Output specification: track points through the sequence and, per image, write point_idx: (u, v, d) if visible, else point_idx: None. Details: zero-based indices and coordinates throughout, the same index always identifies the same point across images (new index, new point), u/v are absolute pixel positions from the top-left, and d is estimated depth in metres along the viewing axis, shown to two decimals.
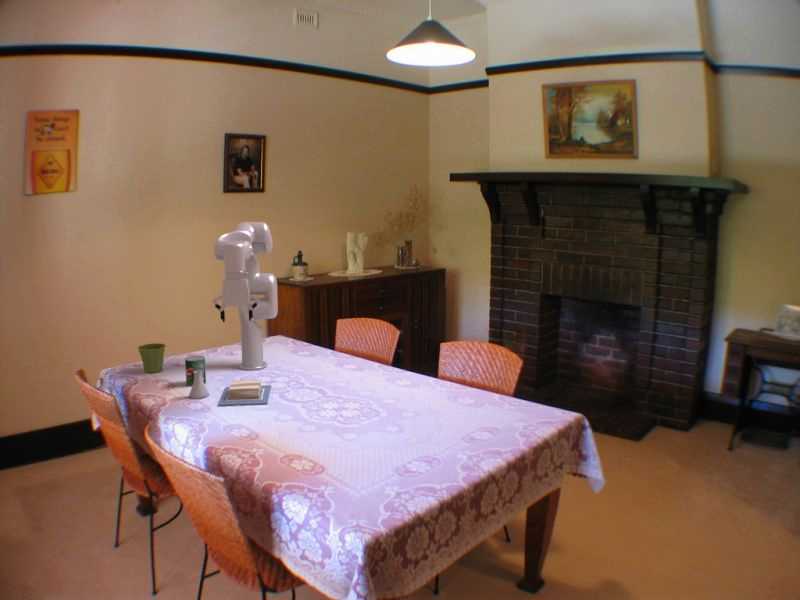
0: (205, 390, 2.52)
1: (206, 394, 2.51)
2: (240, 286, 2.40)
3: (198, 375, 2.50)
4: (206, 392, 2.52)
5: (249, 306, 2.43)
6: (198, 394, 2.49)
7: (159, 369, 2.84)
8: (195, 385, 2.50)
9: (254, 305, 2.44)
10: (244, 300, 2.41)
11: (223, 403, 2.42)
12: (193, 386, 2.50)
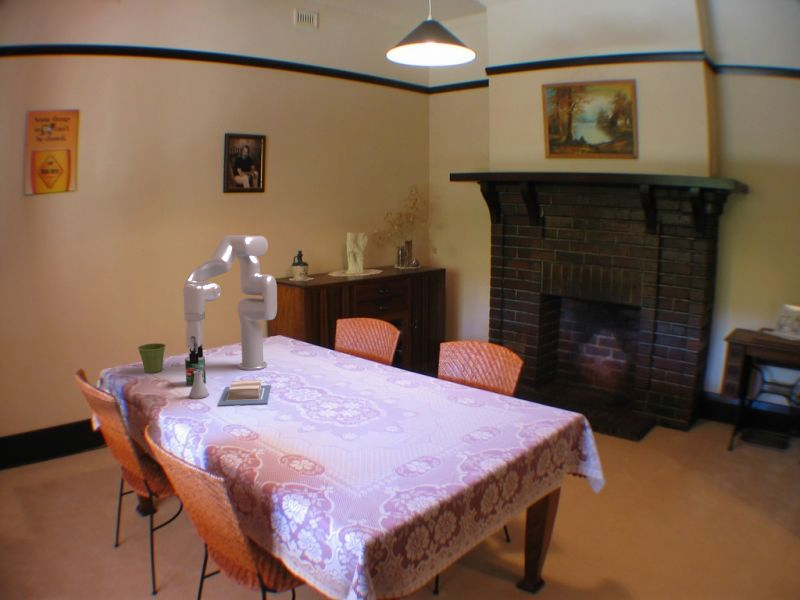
0: (205, 390, 2.52)
1: (206, 394, 2.51)
2: (202, 325, 2.49)
3: (198, 375, 2.50)
4: (206, 392, 2.52)
5: (201, 343, 2.53)
6: (198, 394, 2.49)
7: (159, 369, 2.84)
8: (195, 385, 2.50)
9: None
10: (202, 338, 2.51)
11: (223, 403, 2.42)
12: (193, 386, 2.50)
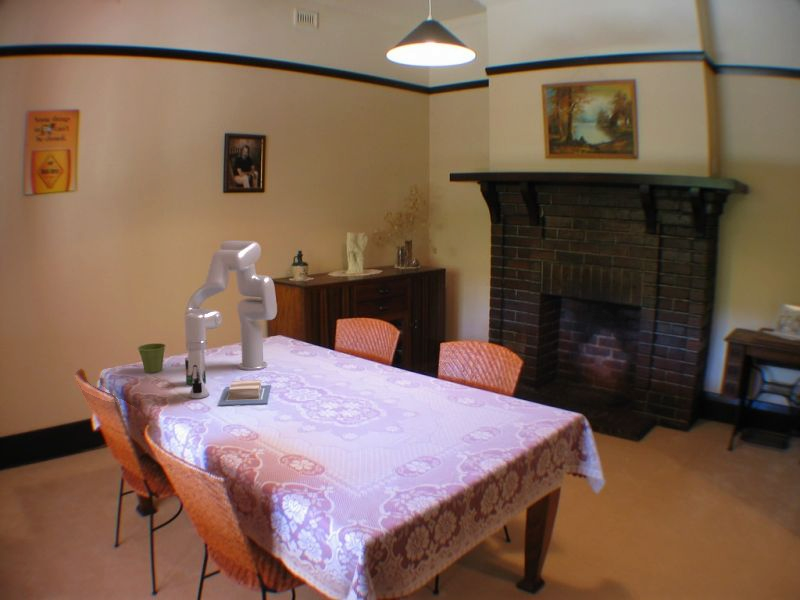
0: (205, 390, 2.52)
1: (206, 394, 2.51)
2: None
3: None
4: (206, 392, 2.52)
5: None
6: (198, 394, 2.49)
7: (159, 369, 2.84)
8: None
9: None
10: (204, 365, 2.54)
11: (223, 403, 2.42)
12: None
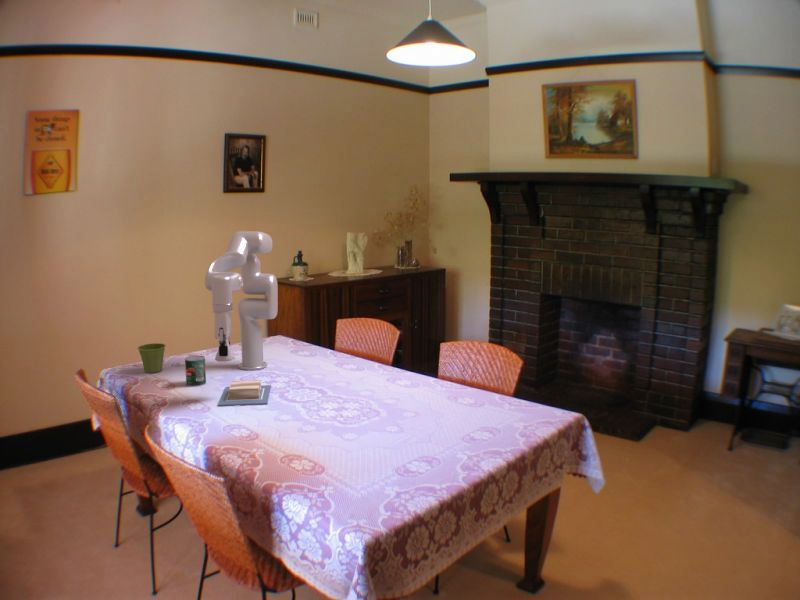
0: (231, 353, 2.49)
1: (232, 357, 2.49)
2: (230, 316, 2.49)
3: None
4: (232, 355, 2.50)
5: (229, 337, 2.52)
6: (224, 357, 2.47)
7: (159, 369, 2.84)
8: None
9: (228, 336, 2.53)
10: None
11: (223, 403, 2.42)
12: None
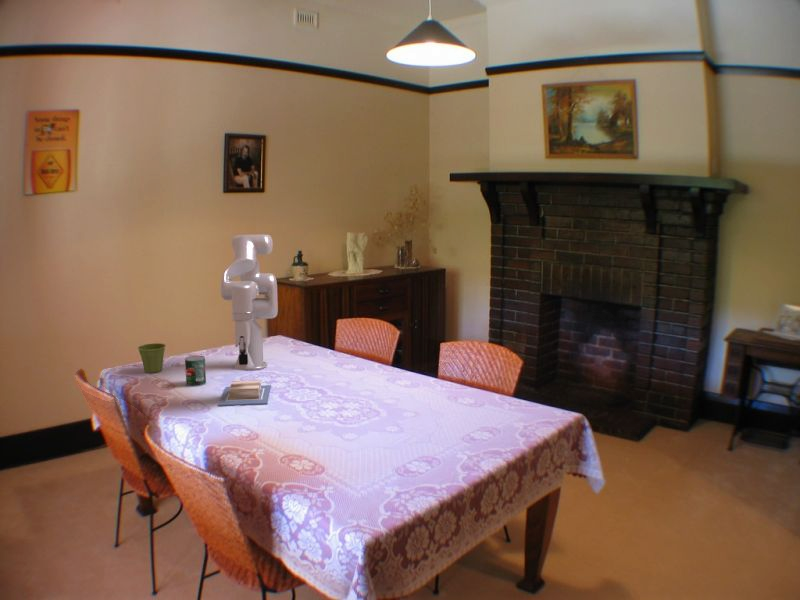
0: (251, 362, 2.50)
1: (252, 366, 2.50)
2: None
3: None
4: (252, 364, 2.50)
5: (248, 345, 2.53)
6: (244, 366, 2.47)
7: (159, 369, 2.84)
8: None
9: None
10: None
11: (223, 403, 2.42)
12: None
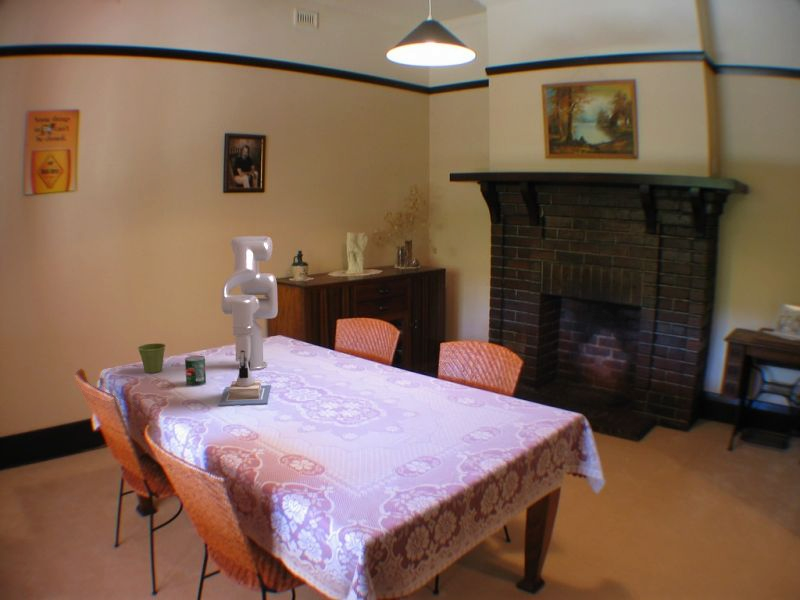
0: (251, 378, 2.51)
1: (252, 382, 2.51)
2: None
3: None
4: (252, 380, 2.52)
5: None
6: (245, 382, 2.49)
7: (159, 369, 2.84)
8: None
9: None
10: (250, 351, 2.53)
11: (223, 403, 2.42)
12: None
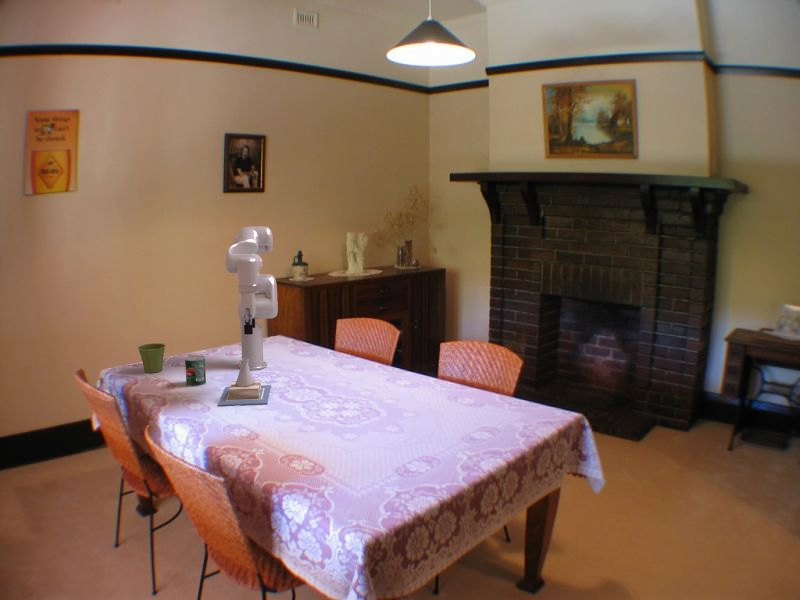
0: (251, 378, 2.51)
1: (252, 382, 2.51)
2: None
3: (245, 363, 2.49)
4: (252, 380, 2.52)
5: None
6: (245, 382, 2.49)
7: (159, 369, 2.84)
8: (242, 373, 2.49)
9: None
10: (255, 309, 2.58)
11: (223, 403, 2.42)
12: (240, 374, 2.50)
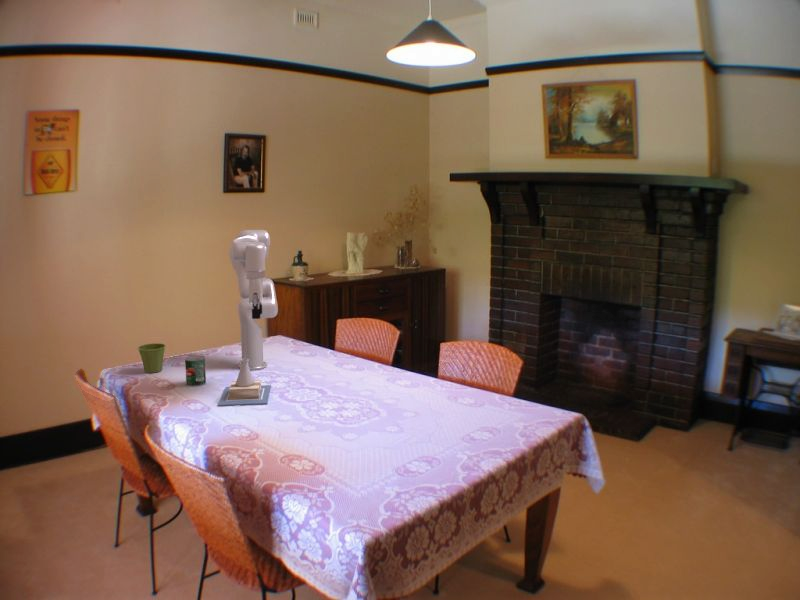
0: (251, 378, 2.51)
1: (252, 382, 2.51)
2: None
3: (245, 363, 2.49)
4: (252, 380, 2.52)
5: None
6: (245, 382, 2.49)
7: (159, 369, 2.84)
8: (242, 373, 2.49)
9: None
10: None
11: (223, 403, 2.42)
12: (240, 374, 2.50)
